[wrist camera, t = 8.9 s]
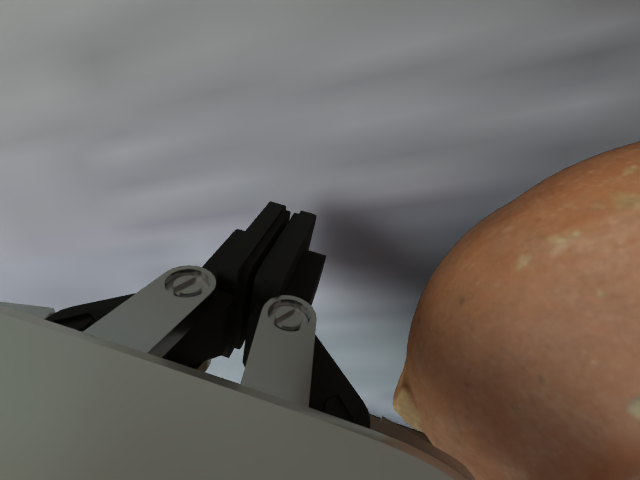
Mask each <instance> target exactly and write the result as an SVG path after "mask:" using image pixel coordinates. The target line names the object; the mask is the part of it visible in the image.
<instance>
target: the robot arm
mask: <svg viewBox="0 0 640 480" xmlns="http://www.w3.org/2000/svg"><path fill="white" fill-rule="evenodd" d="M289 219H290V211H287V210H286V206H284V205H281V204H278V203H274V202H271V201H270V202H269V203H268V205H267V206H266V207H265V208H264V209H263V211H262V212H261V213H260V214H259V215H258V217H257V218H256V219H255V220H254V221H253V222H252V224H251V225H250V226H249V227H248V228H247V230H246V231H243V230H239V229H236V230H235V231H234V232H233V233H232V234H231V235H230V237H229V238H228V239H227V240H226V241H225V242H224V243H223V244H222V246H221V247H220V248H219V249H218V250H217V251H216V252H215V253H214V254H213V256H212V257H211V258H210V259H209V260H208V261H207V262H206V263H205V264H204V266H203V267H198V266H190V265H188V266H179V267H176V268H172V269H171V270H169V271H167V272H165V273H164V274H162V275H161V276H160V277H158V278H157V279H155V280H154V281H153V282H151V283H150V284H148V285H147V286H146V287H144V288H143V289H141V290H140V291H139V292H137V293H135V294H130V295H126V296H121V297H116V298H111V299H106V300H102V301H97V302H92V303H87V304H82V305H78V306H73V307H69V308H66V309H63V310H60V311H58V312H56V313H55V310H54V308H49V307H41V306H32V305H24V304H15V303H7V302H0V480H475V478H474V476H473V475H472V474H471V472H470V471H469V470H468V469H467V467H466V466H465V465H463V464H462V463H461V462H460V461H458V460H457V459H456V458H454V457H452V456H451V455H449V454H447V453H445V452H444V451H442V450H440V449H439V448H437V447H435V446H433V445H432V444H430V443H428V442H426V441H425V440H423V439H421V438H419V437H418V436H416V435H414V434H413V433H411V432H409V431H407V430H406V429H404V428H402V427H400V426H399V425H397V424H395V423H393V422H392V421H390V420H388V419H387V418H385V417H383V416H382V417H381V419H380V420H379V419H378V418H376V417H374V416H373V415H371V414H369V412H368V409H367V408H366V406H365V404H364V402H363V400H362V399H361V398H360V396H359V395H358V394H357V392H356V391H355V389H354V388H353V387H352V385H351V384H350V382H349V381H348V380H347V378H346V377H345V375H344V374H343V373H342V371H341V370H340V368H339V367H338V366H337V364H336V363H335V361H334V360H333V359H332V357H331V356H330V354H329V353H328V352H327V350H326V349H325V347H324V346H323V345H322V343H321V342H320V340H319V339H318V338H317V336H316V335H315V330H316V313H315V311H314V309H313V307H312V306H311V305H312V302H313V299H314V296H315V293H316V290H317V287H318V284H319V280H320V277H321V273H322V270H323V266H324V263H325V259H326V256H325V255H322V254H319V253H316V252H312V251H309V246H310V242H311V238H312V233H313V229H314V225H315V221H316V215H315V214H312V213H308V212H305V211H301V212H300V213H299V214H297V213H294V214H293V216H292V217H291V219H290V220H289ZM245 339H246V340H245ZM244 341H245V347H244V355H243V364H244V366H245V370H244V373H243V377H242V380H241V384H238V383H235V382H232V381H229V380H226V379H223V378H220V377H217V376H214V375H211V374H208V373H205V371H206V370H207V368H208V367H209V365H210V363H211V359H212V358H215V357H218V356H221V355H222V356H225V357H228V358H229V357H230V355H231V353H232V351H233V350H234V348H236V349H240V348H241V347H242V345H243V343H244Z"/></svg>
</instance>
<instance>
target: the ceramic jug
mask: <svg viewBox="0 0 640 480" xmlns="http://www.w3.org/2000/svg"><path fill="white" fill-rule="evenodd" d="M393 405H394V409H395V411H396V412H397V413H398V414H399V415H400V416H401V417H402V418H403V419H404V421H405V422H407V423H408V424H409V425H410V426H411V427H413V428H414V429H416V430H419V431H422V432H424V433H425V434H426V436H427V437H428V439H429V440H430V442H431V443H432V445H433V446H435V447H437V448H439V449H440V450H442V451H444V452H445V453H447V454H449V455H451V456H452V457H454V458H456V459H457V460H458V461H460V462H461V463H462V464H463V465H465V466H466V467H467V469H468V470H469V471H470V472H471V474H472V475H473V476H474V478H475V480H640V141H639V142H636V143H632V144H629V145H626V146H623V147H619V148H616V149H613V150H610V151H607V152H604V153H601V154H599V155H596V156H593V157H591V158H588V159H586V160H584V161H582V162H579V163H577V164H575V165H572V166H570V167H568V168H565V169H563V170H561V171H560V172H558V173H556V174H554V175H552V176H550V177H548V178H546V179H545V180H543V181H542V182H540V183H539V184H537V185H535V186H534V187H532V188H531V189H529V190H528V191H526V192H525V193H523V194H522V195H521V196H519V197H518V198H516V199H515V200H513V201H511V202H510V203H508V204H507V205H505V206H503V207H501V208H499V209H498V210H496V211H495V212H493V213H492V214H490V215H489V216H487V217H486V218H484V219H483V220H481V221H480V222H479V223H478V224H476V225H475V226H474V227H473V228H472V229H470V230H469V231H468V232H467V233H466V234H465V235H464V236H463V237H462V238H461V239H460V240H459V241H458V242H457V243H456V244H455V246H454V247H453V248H452V249H451V250H450V251H449V253H448V254H447V255H446V256H445V257H444V259H443V260H442V261H441V263H440V264H439V266H438V267H437V268H436V270H435V271H434V272H433V274H432V275H431V277H430V279H429V281H428V282H427V285H426V287H425V289H424V291H423V293H422V295H421V297H420V300H419V302H418V305H417V308H416V311H415V314H414V317H413V320H412V324H411V328H410V332H409V338H408V344H407V357H406V361H405V365H404V369H403V372H402V374H401V376H400V379H399V381H398V385H397V387H396V390H395V394H394V397H393Z"/></svg>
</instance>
